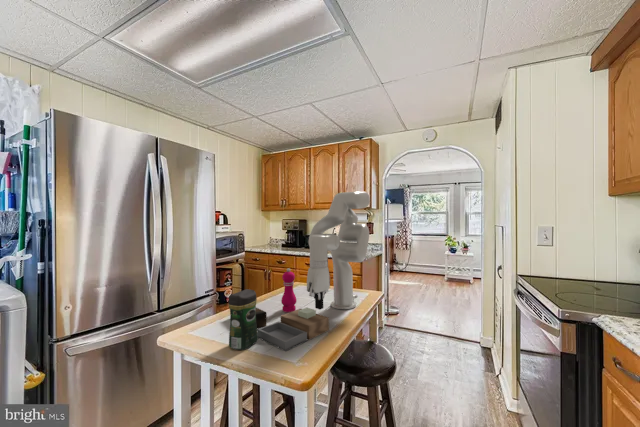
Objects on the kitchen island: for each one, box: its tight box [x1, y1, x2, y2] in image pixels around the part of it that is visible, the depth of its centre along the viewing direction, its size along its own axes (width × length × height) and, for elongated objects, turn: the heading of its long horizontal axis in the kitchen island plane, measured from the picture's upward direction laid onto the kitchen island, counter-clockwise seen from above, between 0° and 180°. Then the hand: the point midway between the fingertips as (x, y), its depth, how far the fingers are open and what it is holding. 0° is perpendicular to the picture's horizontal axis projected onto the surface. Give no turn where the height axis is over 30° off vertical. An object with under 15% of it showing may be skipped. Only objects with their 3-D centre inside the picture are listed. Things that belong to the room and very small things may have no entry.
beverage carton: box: [256, 307, 268, 329], centre depth 114 cm, size 8×19×7 cm, turn 41°
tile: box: [298, 307, 317, 319], centre depth 107 cm, size 5×5×2 cm
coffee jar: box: [227, 288, 259, 351], centre depth 94 cm, size 10×8×19 cm
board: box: [280, 308, 330, 341], centre depth 106 cm, size 11×16×5 cm
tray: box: [257, 321, 308, 352], centre depth 97 cm, size 10×16×3 cm, turn 47°
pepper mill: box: [280, 267, 297, 313], centre depth 129 cm, size 7×7×20 cm
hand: (319, 308), depth 112 cm, fingers closed
